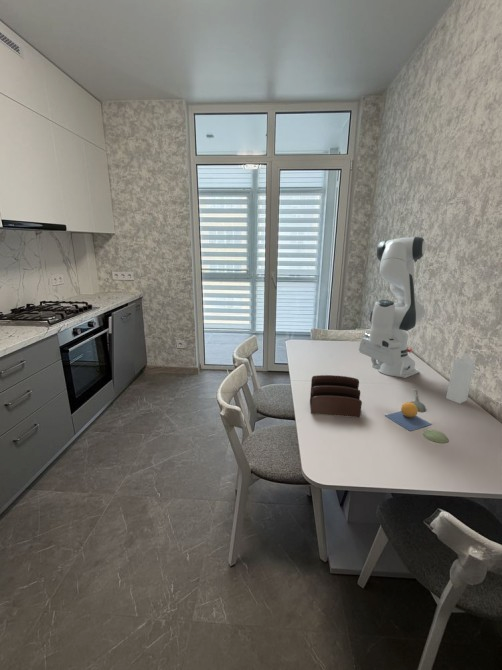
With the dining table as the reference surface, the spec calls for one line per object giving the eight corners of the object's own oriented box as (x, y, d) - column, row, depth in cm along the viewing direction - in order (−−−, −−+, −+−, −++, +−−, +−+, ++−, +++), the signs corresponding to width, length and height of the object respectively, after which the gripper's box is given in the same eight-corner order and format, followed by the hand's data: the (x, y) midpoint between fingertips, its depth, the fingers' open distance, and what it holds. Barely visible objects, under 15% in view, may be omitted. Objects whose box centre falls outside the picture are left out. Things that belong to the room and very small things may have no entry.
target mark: (405, 410, 131) (405, 409, 131) (431, 424, 121) (431, 424, 121) (384, 415, 127) (384, 415, 127) (409, 431, 116) (409, 430, 116)
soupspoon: (407, 412, 132) (424, 417, 129) (409, 405, 131) (426, 410, 128) (407, 390, 151) (423, 393, 148) (409, 384, 150) (424, 387, 147)
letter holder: (309, 402, 137) (311, 373, 133) (355, 406, 134) (359, 376, 131) (310, 414, 128) (312, 382, 124) (360, 418, 125) (364, 386, 121)
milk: (466, 401, 140) (477, 355, 134) (459, 404, 138) (470, 357, 131) (452, 395, 146) (462, 351, 139) (445, 398, 143) (455, 353, 137)
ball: (417, 416, 127) (403, 408, 131) (422, 404, 124) (407, 397, 128) (410, 422, 123) (396, 414, 127) (415, 411, 121) (400, 402, 125)
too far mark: (432, 428, 118) (432, 427, 118) (453, 439, 111) (453, 439, 111) (418, 432, 115) (418, 432, 115) (438, 445, 108) (438, 444, 108)
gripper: (357, 333, 140) (354, 361, 144) (393, 345, 122) (389, 378, 126) (368, 331, 143) (364, 359, 147) (405, 344, 125) (400, 375, 129)
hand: (376, 368), depth 136 cm, fingers closed
